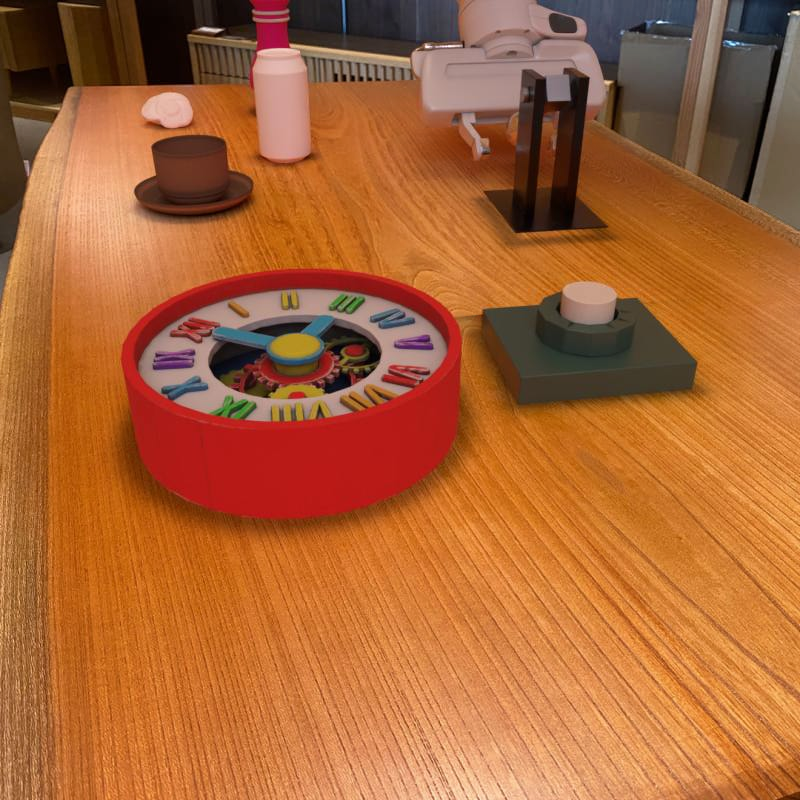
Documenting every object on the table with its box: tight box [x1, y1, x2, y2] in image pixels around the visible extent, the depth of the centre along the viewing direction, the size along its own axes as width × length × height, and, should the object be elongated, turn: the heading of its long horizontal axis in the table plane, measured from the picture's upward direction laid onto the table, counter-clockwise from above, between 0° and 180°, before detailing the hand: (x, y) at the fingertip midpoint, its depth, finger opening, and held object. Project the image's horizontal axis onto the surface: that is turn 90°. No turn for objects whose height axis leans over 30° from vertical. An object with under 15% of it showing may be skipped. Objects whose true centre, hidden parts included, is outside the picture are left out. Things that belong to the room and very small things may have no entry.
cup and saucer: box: [133, 134, 254, 216], centre depth 85 cm, size 12×12×6 cm
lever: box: [504, 75, 571, 147], centre depth 82 cm, size 13×4×4 cm
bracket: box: [483, 68, 609, 234], centre depth 80 cm, size 12×9×14 cm
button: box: [560, 280, 618, 325], centre depth 57 cm, size 4×4×2 cm
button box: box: [480, 290, 699, 406], centre depth 58 cm, size 12×10×4 cm
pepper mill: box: [249, 0, 292, 91], centre depth 115 cm, size 7×7×20 cm
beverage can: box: [252, 48, 312, 164], centre depth 98 cm, size 6×6×12 cm
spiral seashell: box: [139, 91, 194, 130], centre depth 113 cm, size 7×5×4 cm
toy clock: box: [120, 267, 463, 520], centre depth 52 cm, size 20×6×20 cm
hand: (520, 156), depth 89 cm, fingers open, 7 cm apart
